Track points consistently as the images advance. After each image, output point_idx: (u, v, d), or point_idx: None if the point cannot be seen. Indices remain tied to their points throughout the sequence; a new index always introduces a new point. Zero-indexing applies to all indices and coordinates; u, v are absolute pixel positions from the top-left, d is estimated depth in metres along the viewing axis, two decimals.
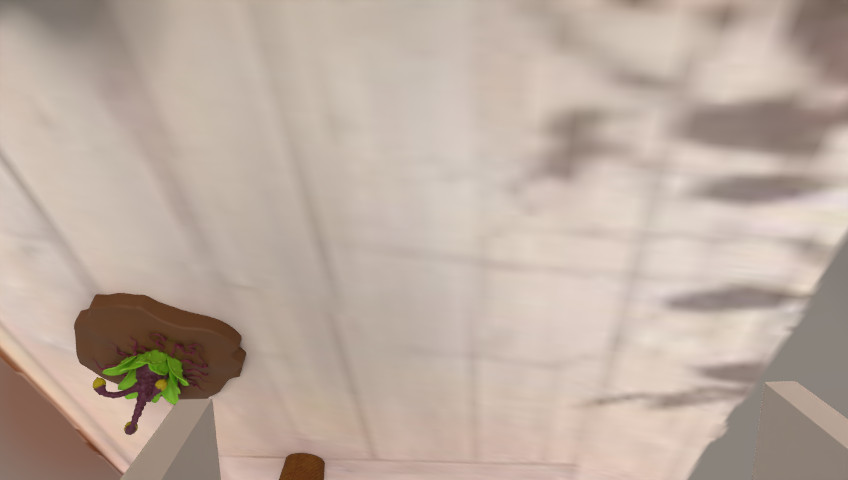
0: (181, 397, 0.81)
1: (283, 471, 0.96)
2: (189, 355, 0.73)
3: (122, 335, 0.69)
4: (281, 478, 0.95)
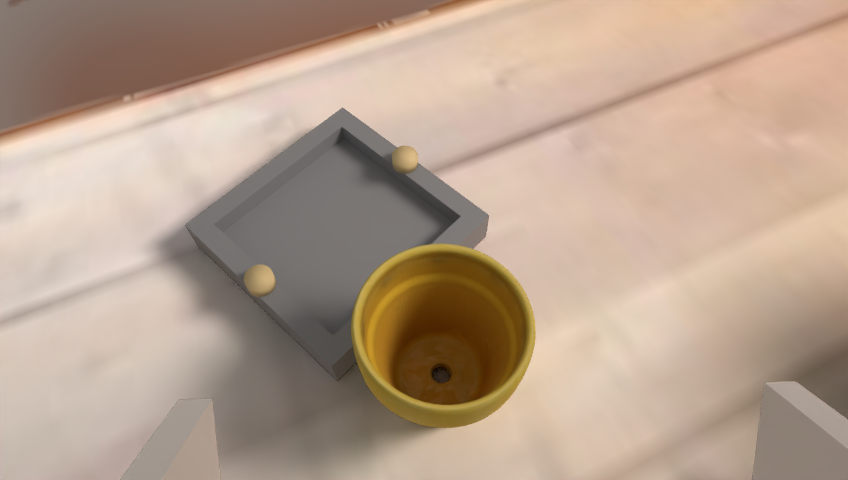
0: None
1: None
2: None
3: None
4: None
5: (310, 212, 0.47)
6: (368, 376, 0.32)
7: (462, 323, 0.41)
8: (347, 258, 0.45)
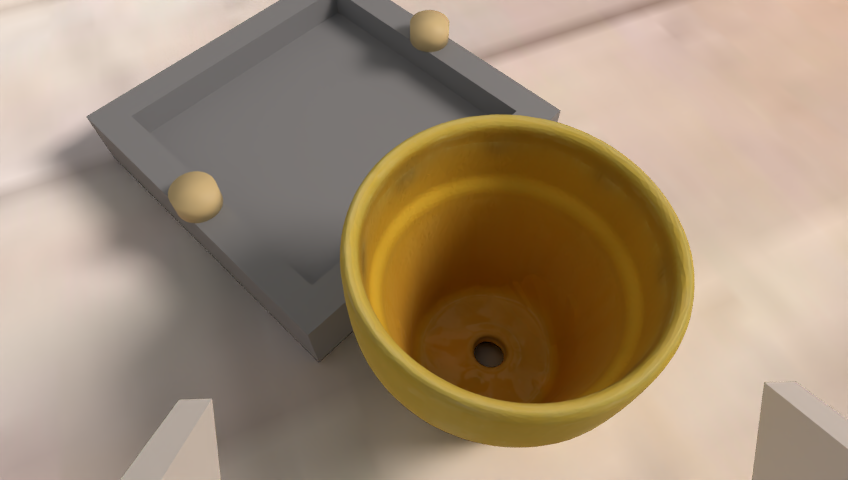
0: None
1: None
2: None
3: None
4: None
5: (284, 108, 0.31)
6: (372, 344, 0.16)
7: (525, 270, 0.25)
8: (338, 173, 0.29)
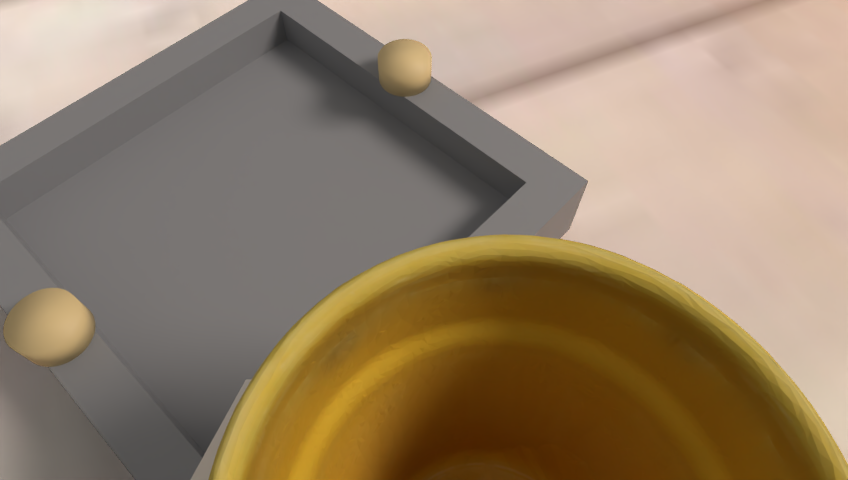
0: None
1: None
2: None
3: None
4: None
5: (206, 175, 0.23)
6: None
7: (542, 437, 0.17)
8: (275, 273, 0.21)
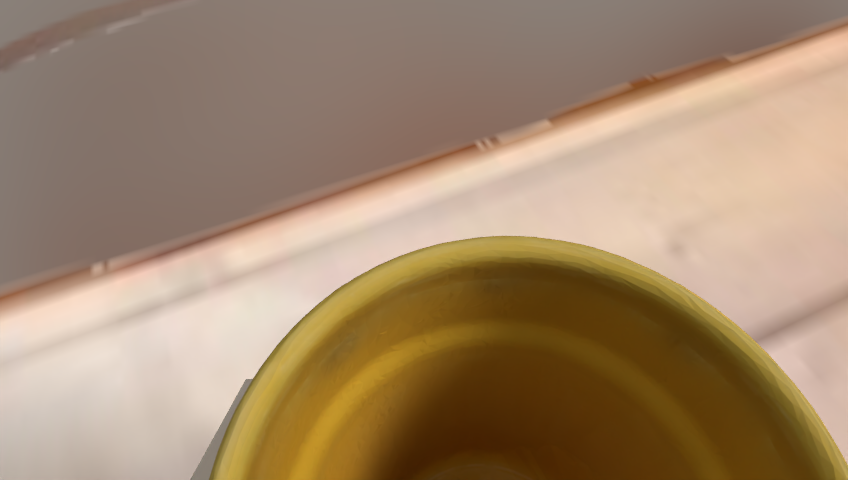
0: None
1: None
2: None
3: None
4: None
5: None
6: None
7: (542, 438, 0.17)
8: None
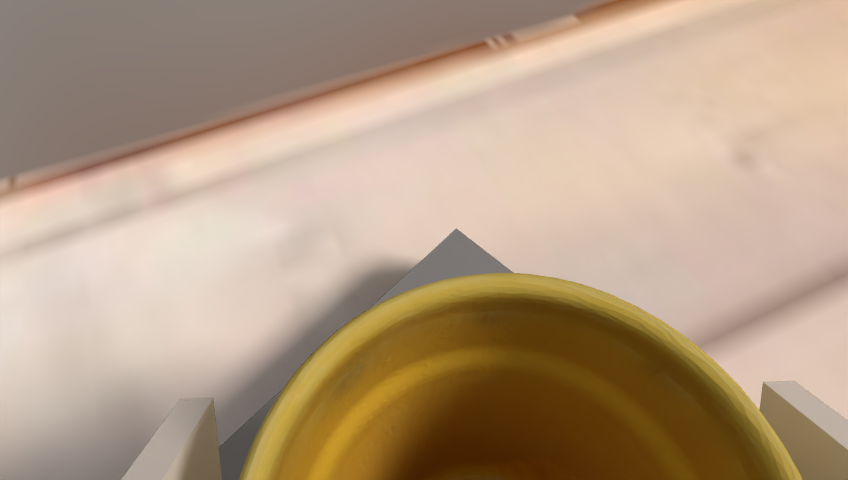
0: None
1: None
2: None
3: None
4: None
5: None
6: None
7: (535, 453, 0.18)
8: None
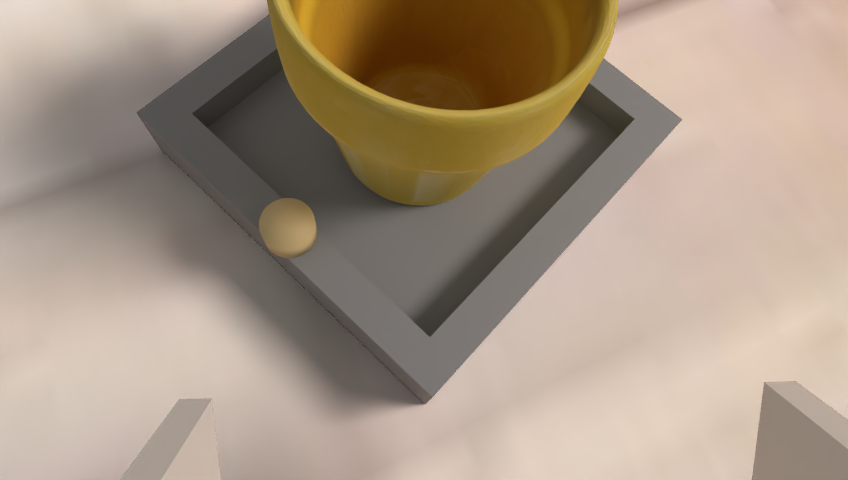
0: None
1: None
2: None
3: None
4: None
5: None
6: (297, 54, 0.16)
7: (461, 43, 0.25)
8: None
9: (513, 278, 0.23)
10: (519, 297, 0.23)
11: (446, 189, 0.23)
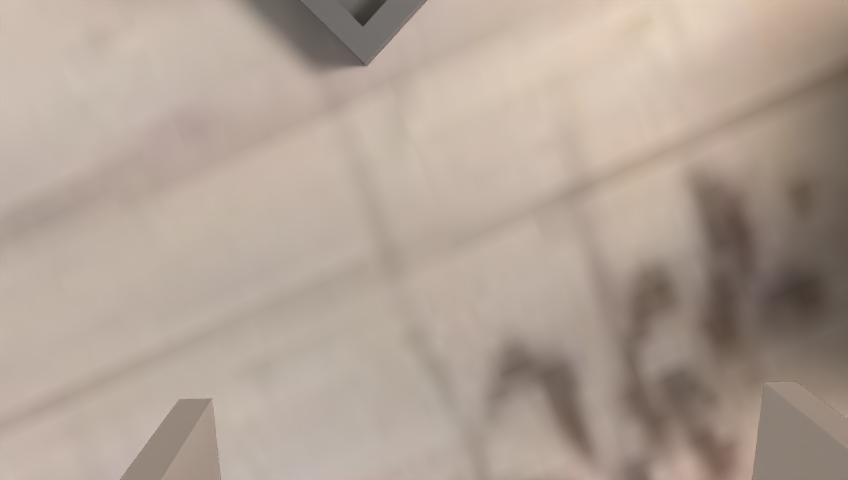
0: None
1: None
2: None
3: None
4: None
5: None
6: None
7: None
8: None
9: None
10: (419, 1, 0.36)
11: None
